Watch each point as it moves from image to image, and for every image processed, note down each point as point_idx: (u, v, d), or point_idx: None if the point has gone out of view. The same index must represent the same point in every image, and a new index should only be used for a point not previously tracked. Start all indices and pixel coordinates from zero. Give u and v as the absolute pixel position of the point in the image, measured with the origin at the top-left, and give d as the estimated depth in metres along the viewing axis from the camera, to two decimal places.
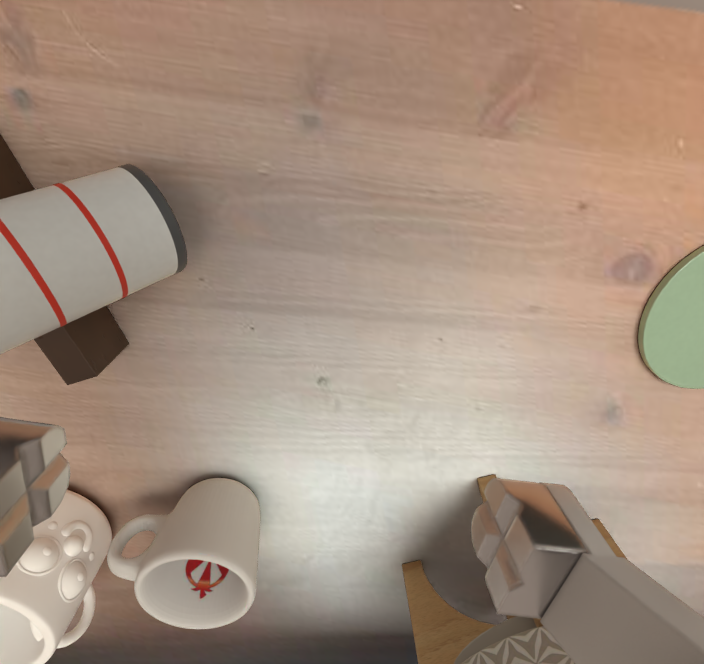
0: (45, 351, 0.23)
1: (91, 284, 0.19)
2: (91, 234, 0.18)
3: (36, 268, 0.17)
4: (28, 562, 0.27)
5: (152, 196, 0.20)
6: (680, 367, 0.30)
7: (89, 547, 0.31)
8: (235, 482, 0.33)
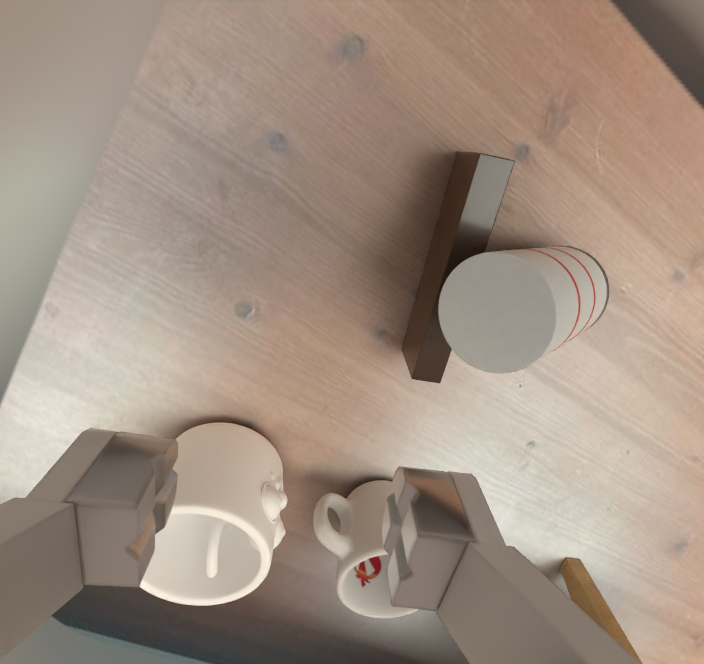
0: (423, 348, 0.26)
1: None
2: (591, 310, 0.22)
3: (572, 325, 0.21)
4: (271, 507, 0.28)
5: (607, 291, 0.25)
6: None
7: None
8: None
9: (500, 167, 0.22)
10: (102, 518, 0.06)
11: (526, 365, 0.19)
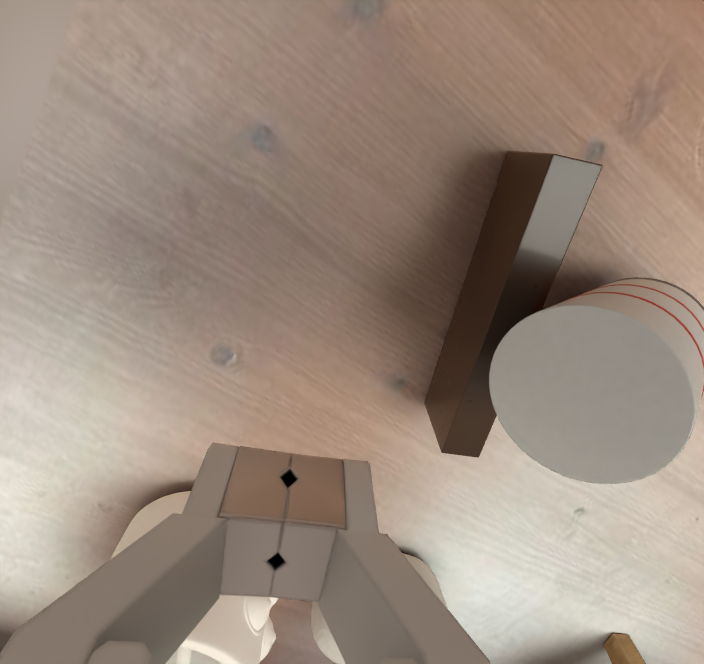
0: (459, 415, 0.19)
1: None
2: None
3: None
4: (256, 616, 0.21)
5: None
6: None
7: None
8: None
9: (581, 174, 0.15)
10: (249, 532, 0.06)
11: (633, 479, 0.13)
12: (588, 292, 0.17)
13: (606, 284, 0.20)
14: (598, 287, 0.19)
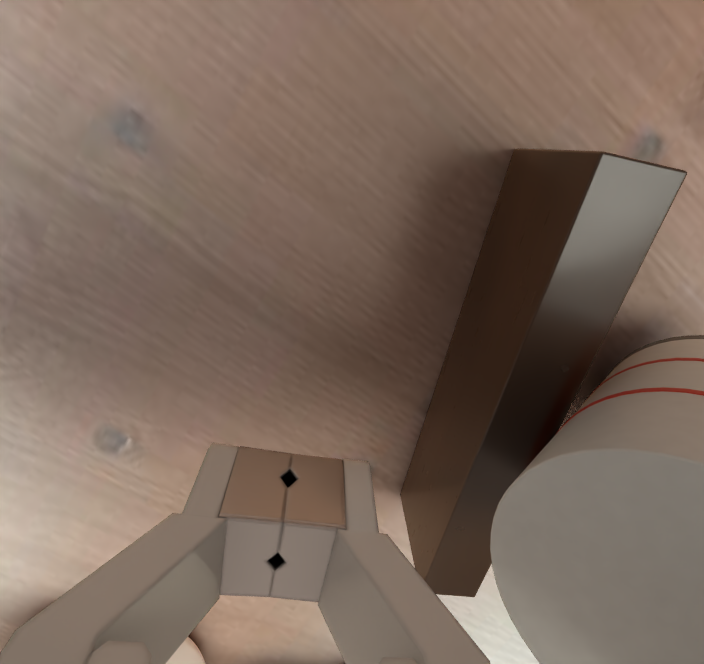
0: (444, 546, 0.13)
1: None
2: None
3: None
4: None
5: None
6: None
7: None
8: None
9: (649, 188, 0.08)
10: (249, 532, 0.06)
11: None
12: (651, 379, 0.10)
13: (660, 345, 0.14)
14: (651, 353, 0.13)
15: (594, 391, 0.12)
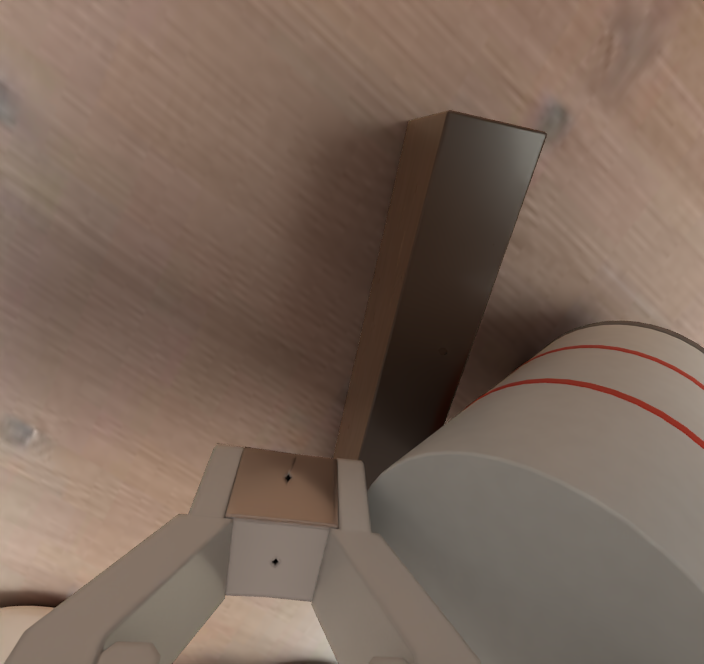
0: None
1: None
2: None
3: None
4: None
5: None
6: None
7: None
8: None
9: (506, 151, 0.08)
10: (255, 532, 0.06)
11: None
12: (543, 369, 0.09)
13: (577, 331, 0.13)
14: (564, 340, 0.12)
15: None
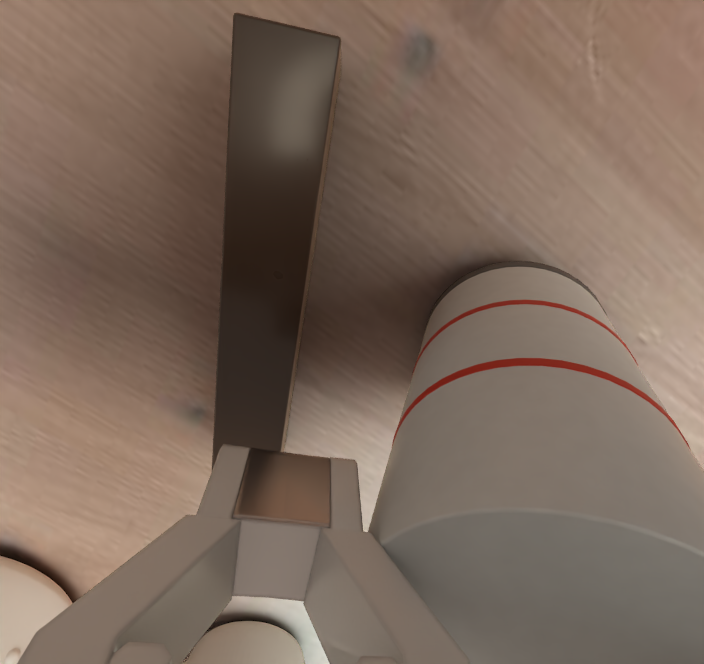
0: None
1: None
2: None
3: None
4: None
5: None
6: None
7: None
8: (292, 640, 0.23)
9: (301, 57, 0.08)
10: (262, 533, 0.06)
11: None
12: (479, 345, 0.09)
13: (471, 281, 0.13)
14: (466, 295, 0.12)
15: (423, 353, 0.11)
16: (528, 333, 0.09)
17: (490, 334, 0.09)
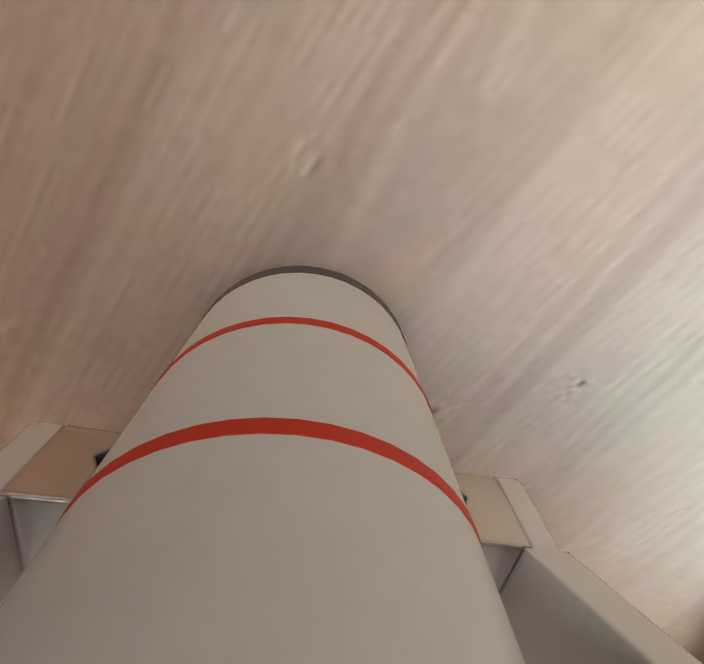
0: None
1: (396, 390, 0.06)
2: (280, 327, 0.07)
3: (299, 427, 0.05)
4: None
5: (267, 274, 0.10)
6: None
7: None
8: None
9: None
10: (38, 512, 0.06)
11: None
12: None
13: None
14: None
15: None
16: None
17: None
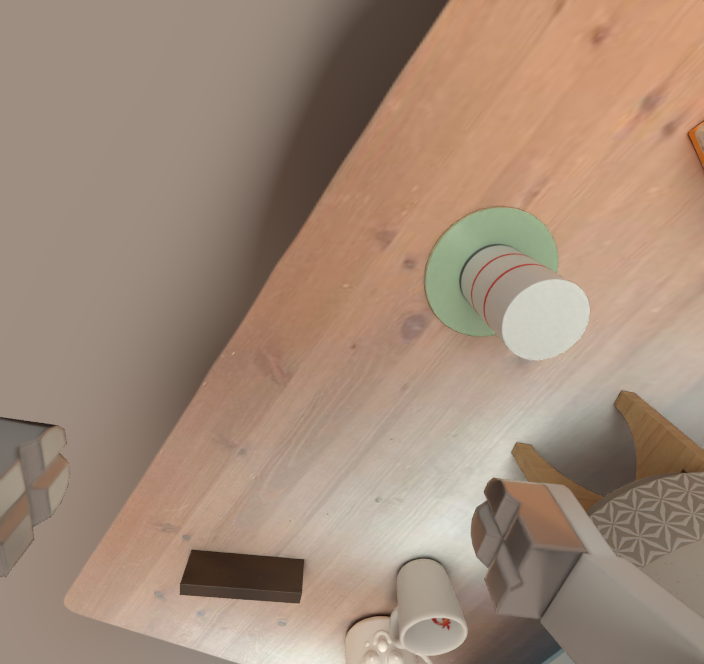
0: (280, 601, 0.49)
1: None
2: (515, 254, 0.32)
3: (536, 265, 0.30)
4: None
5: (491, 245, 0.35)
6: None
7: (390, 639, 0.54)
8: (409, 563, 0.52)
9: (184, 588, 0.47)
10: None
11: (582, 291, 0.27)
12: (482, 315, 0.32)
13: (466, 298, 0.36)
14: (470, 304, 0.35)
15: None
16: (478, 302, 0.32)
17: (479, 311, 0.32)
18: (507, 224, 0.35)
